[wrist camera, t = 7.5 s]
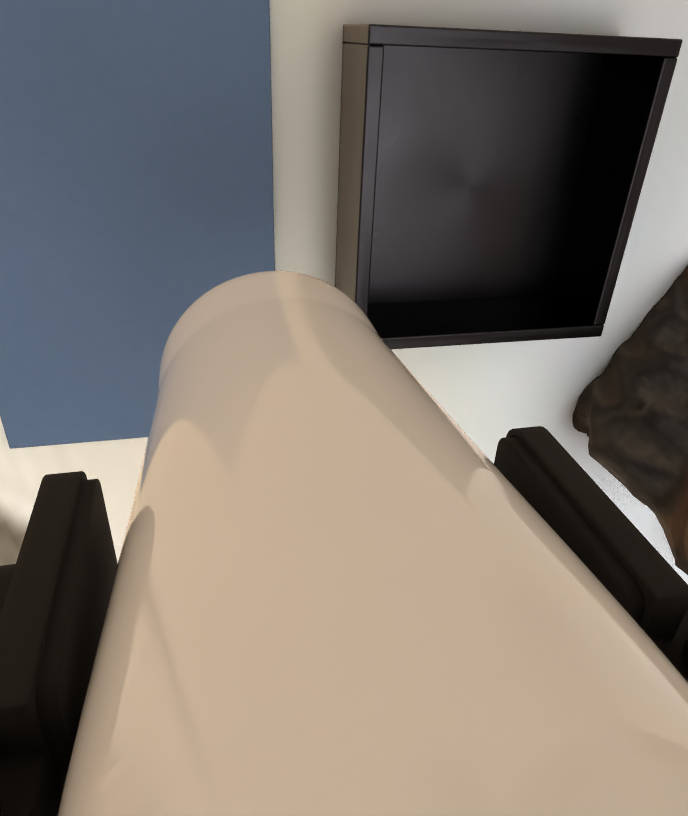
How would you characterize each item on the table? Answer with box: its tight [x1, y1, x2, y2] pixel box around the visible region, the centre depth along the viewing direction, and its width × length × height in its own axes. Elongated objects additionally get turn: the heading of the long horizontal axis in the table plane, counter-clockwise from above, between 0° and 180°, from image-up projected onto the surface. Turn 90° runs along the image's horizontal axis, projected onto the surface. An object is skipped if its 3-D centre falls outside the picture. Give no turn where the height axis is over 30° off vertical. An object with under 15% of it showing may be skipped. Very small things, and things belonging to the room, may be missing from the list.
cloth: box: [0, 0, 275, 449], centre depth 26 cm, size 20×13×1 cm, turn 178°
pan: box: [335, 24, 682, 349], centre depth 27 cm, size 12×12×4 cm
